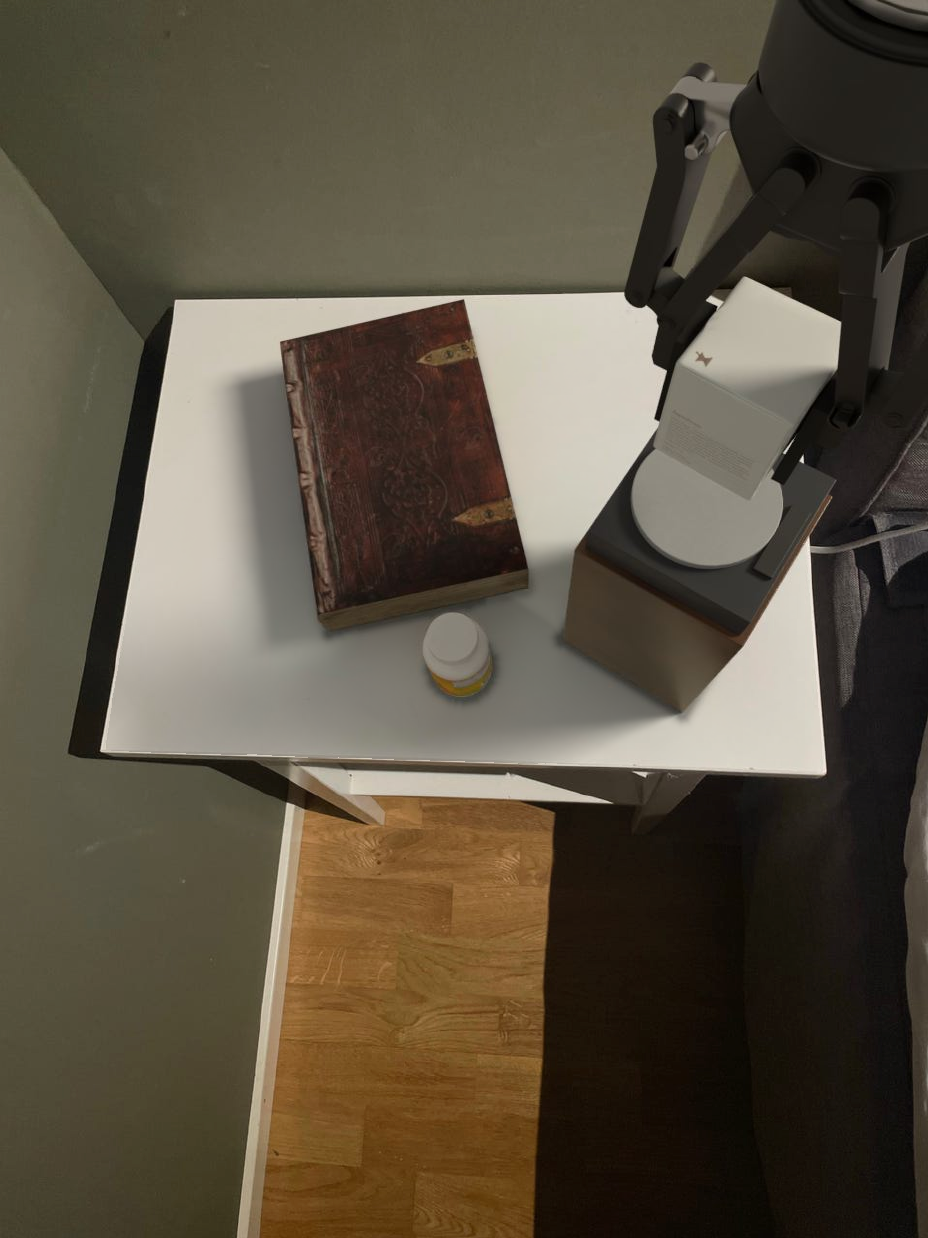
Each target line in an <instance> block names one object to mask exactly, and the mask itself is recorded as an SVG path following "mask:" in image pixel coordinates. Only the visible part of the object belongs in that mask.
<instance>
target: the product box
mask: <svg viewBox="0 0 928 1238" xmlns="http://www.w3.org/2000/svg"><path fill="white" fill-rule="evenodd" d="M840 330H841V320H840V321H839V320H838V319H836V318H833V317H832V316H829V315H828V314H826V313H823V312H821V311H819V310H816V309H815V308H813V307H810V306H809V305H807V304H804V303H801V302H799V301H798V300H795V299H793V298H791V297H789V296H787V295H785V294H783V293H781V292H779V291H777V290H774V289H772V288H770V287H769V286H766V285H764V284H762V283H760V282H758V281H756V280H753V279H752V278H749V277H747V276H743V277H742V278H740V280H739V281H738V283H737V284H736V285H735V286H734V288H733V289H732V290H731V292H730V293H729V294H728V295H727V297H726V298H725V299H724V301H723V302H722V303H721V304H720V306H718V308H717V311H716V312H715V313H714V314H713V315H712V316H711V317H710V319H709V320H708V321H707V323H706V325H705V326H704V327H703V329H702V330H701V331H700V333H699V334H698V335H697V336H696V338H695V339H694V340H693V341H692V343H691V344H690V345H689V347H688V348H687V349H686V350H685V352H684V353H683V354H682V355H681V357H680V358H679V359H678V361H677V362H676V365H675V369H674V372H673V375H672V379H671V383H670V386H669V390H668V393H667V397H666V401H665V404H664V408H663V411H662V415H661V418H660V422H659V421H658V422H659V423H658V426H657V428H658V429H657V428H656V429H657V433H656V437H655V440H654V444H653V446H654V447H655V448H656V449H658V450H660V451H661V452H663V453H665V454H666V455H668V456H670V457H672V458H673V459H675V460H677V461H679V462H681V463H682V464H684V465H686V466H688V467H689V468H691V469H693V470H695V471H697V472H698V473H700V474H702V475H704V476H705V477H707V478H709V479H711V480H712V481H714V482H716V483H718V484H719V485H721V486H723V487H725V488H726V489H728V490H730V491H732V492H734V493H735V494H737V495H739V496H741V497H742V498H744V499H746V500H748V501H749V500H751V499H752V498H753V496H754V495H755V493H756V491H757V490H758V488H759V487H760V485H761V483H762V482H763V480H764V479H765V477H766V476H767V475H768V473H769V472H770V470H771V469H772V467H773V466H774V465H775V463H776V462H777V461H778V459H779V458H780V457H781V455H782V454H783V453H784V452H786V451H787V450H788V448H789V447H790V445H791V443H792V442H793V440H794V438H795V437H796V435H797V433H798V432H799V430H800V428H801V427H802V425H803V423H804V422H805V420H806V418H807V416H808V415H809V413H810V411H811V410H812V408H813V406H814V405H815V403H816V402H817V400H818V398H819V397H820V395H821V394H822V392H823V391H824V389H825V387H826V386H827V384H828V383H829V381H830V379H831V378H832V376H833V375H834V373H835V372H836V370H837V366H838V354H839V342H840Z"/></svg>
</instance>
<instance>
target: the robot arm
mask: <svg viewBox="0 0 928 1238" xmlns="http://www.w3.org/2000/svg"><path fill="white" fill-rule="evenodd" d="M652 129H653V140H654V149H655V159H656V168H655V172H654V176H653V179H652V183H651V188H650V192H649V195H648V199H647V203H646V208H645V210H644V214H643V218H642V222H641V226H640V230H639V233H638V238H637V241H636V244H635V249H634V253H633V257H632V259H631V263H630V267H629V272H628V276H627V279H626V283H625V287H624V291H623V294H624V299H625V300H626V302H627V303H628V304H629V305H630V306H632V307H633V308H636V309H643V308H646V307H647V308H648V309H650V310H651V311H652V312H653V313H654V314H655V316H656V324H657V325H658V326H657V331H656V335H655V340H654V344H653V349H652V353H651V360H652V364H653V365H654V366H656V367H659V368H661V369H662V370H664V371H666V372H665V376H664V380H663V384H662V388H661V391H660V395H659V398H658V403H657V407H656V410H655V414H654V417H653V420H654V421H657V422H660V418H661V415H662V411H663V408H664V404H665V401H666V397H667V393H668V390H669V386H670V383H671V379H672V375H673V372H674V369H675V365H676V362H677V361H678V359H679V358H680V357H681V355H682V354H683V353H684V352H685V350H686V349H687V348H688V347H689V345H690V344H691V343H692V341H693V340H694V339H695V338H696V336H697V335H698V334H699V333H700V331H701V330H702V329H703V327H704V326H705V325H706V323H707V321H708V320H709V319H710V317H711V316H712V315H713V314H714V313H715V312H716V311H717V310H718V308H719V306H718V305H716V304H714V303H712V302H709V301H707V300H708V299H709V298H710V297H711V296H712V295H713V293H714V292H715V291H716V290H717V289H718V288H719V287H720V286H721V285H722V283H723V282H724V281H725V280H726V279H727V278H728V276H729V275H731V273H732V272H733V271H734V270H735V269H736V268H737V266H739V264H740V263H741V262H742V261H743V260H744V259H745V257H746V256H747V255H748V254H751V252H752V251H754V249H755V248H756V247H757V246H758V245H759V244H760V242H761V241H762V240H763V239H764V238H765V237H766V236H767V235H768V233H769V232H772V233H774V234H776V235H778V236H781V237H784V238H786V239H790V240H793V241H798V242H799V241H800V242H805V243H810V244H811V245H812V246H814V247H815V248H816V249H818V250H819V251H821V252H822V253H823V254H824V255H826V256H828V257H829V258H833V259H835V260H837V261H840V263H839V276H838V277H839V278H838V293H839V294H843V296H842V306H841V307H842V309H841V320H840V322H841V330H840V342H839V354H838V366H837V370H836V372H835V373H834V375H833V376H832V378H831V379H830V381H829V383H828V384H827V386H826V387H825V389H824V391H823V392H822V394H821V395H820V397H819V398H818V400H817V402H816V403H815V405H814V406H813V408H812V410H811V411H810V413H809V415H808V416H807V418H806V420H805V422H804V423H803V425H802V427H801V428H800V430H799V432H798V433H797V435H796V437H795V438H794V439H793V441H792V442H791V443H790V445H789V446H788V448H787V449H786V451H785V453H784V454H785V455H784V457H783V459H782V460H781V462H780V464H779V465H778V467H777V469H776V470H775V472H774V474H773V476H772V477H771V479H772V480H774V481H776V482H778V483H780V484H782V485H785V483H786V481H787V480H788V478H789V477H790V475H791V474H792V472H793V470H794V469H795V467H796V466H797V464H798V463H799V461H800V462H801V459H802V458H803V456H804V454H806V453H807V450H808V448H809V447H810V445H811V444H812V442H813V443H814V444H817V445H819V446H820V447H823V448H824V449H827V450H828V451H832V450H835V449H837V448H839V447H840V446H841V444H842V443H843V442H844V439H845V438H846V437H847V436H848V434H849V433H850V432H851V431H852V430H854V428H855V426H856V425H857V423H858V422H859V420H860V418H861V417H863V416H866V415H873V416H879V418H880V421H881V423H883V424H884V425H885V426H886V427H888V428H891V429H893V430H903V429H906V428H908V427H909V426H910V425H911V423H912V421H913V420H914V418H915V417H916V415H917V414H918V412H919V411H920V409H921V408H922V406H923V405H924V403H925V402H926V400H927V398H928V332H926V335H925V336H924V338H923V340H922V342H921V343H920V345H919V347H918V349H917V350H916V352H915V354H914V355H913V357H912V359H911V360H910V362H909V363H908V366H907V368H905V370H904V372H900V371H895V370H889V365H890V364H889V363H890V358H891V357H890V356H891V352H892V346H893V345H892V344H893V339H894V332H895V326H896V320H897V313H898V306H899V301H900V295H901V288H902V283H903V275H904V268H905V262H906V255H907V252H908V248H909V246H910V243H911V242H914V241H917V240H919V239H921V238H923V237H926V236H928V0H775V2H774V6H773V10H772V13H771V17H770V21H769V25H768V27H767V31H766V34H765V39H764V42H763V46H762V49H761V52H760V57H759V60H758V64H757V69H756V71H755V72H754V73H753V74H752V75H751V77H750V78H749V80H748V81H747V83H745V84H743V83H733V82H732V83H730V82H718V78H717V73H716V72H715V70H714V69H713V67H712V66H710V65H709V64H708V63H706V62H701V61H699V62H694V63H693V64H692V65H690V66H689V68H687V70H686V71H685V73H684V74H683V75H682V77H681V78H680V79H679V81H678V82H677V83H676V84H675V86H674V87H673V88H672V89H671V91H670V92H669V93H668V94H667V96H666V97H665V98H664V100H662V102H661V103H660V105H659V106H658V108H657V109H656V110H655V112H654V113H653V116H652ZM728 131H730V135H731V137H732V141H733V143H734V146H735V148H736V151H737V154H738V157H739V160H740V163H741V166H742V169H743V171H744V174H745V176H746V177H745V178H746V180H747V183H748V185H749V188H750V191H751V194H750V196H749V197H748V198H747V199H746V200H745V201H744V203H743V204H742V205H741V207H740V208H739V209H738V211H736V213H735V214H734V216H732V218H730V219H731V220H730V221H729V222H728V223H727V224H726V226H725V227H724V228H723V229H722V230H721V232H720V233H719V235H718V236H717V237H715V239H714V240H713V242H712V243H711V245H710V246H709V247H707V249H706V251H705V252H704V254H702V256H701V257H700V258H699V259H698V260H697V262H696V264H694V266H693V267H691V268H690V270H689V271H688V272H687V274H686V275H685V277H683V276H681V275H680V274H679V273H678V272H677V271H675V270H674V267H675V264H676V261H677V258H678V255H679V252H680V249H681V247H682V243H683V240H684V237H685V234H686V231H687V228H688V225H689V222H690V219H691V217H692V214H693V211H694V207H695V204H696V202H697V198H698V195H699V193H700V189H701V187H702V183H703V181H704V177H705V175H706V172H707V169H708V166H709V164H710V163H709V162H710V159H711V158H712V157H711V156H712V153H713V152H714V150H715V149H716V148H717V146H718V145H719V144H720V143H721V141H722V140H723V138H724V137H725V136H726V134H727V133H728Z"/></svg>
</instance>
